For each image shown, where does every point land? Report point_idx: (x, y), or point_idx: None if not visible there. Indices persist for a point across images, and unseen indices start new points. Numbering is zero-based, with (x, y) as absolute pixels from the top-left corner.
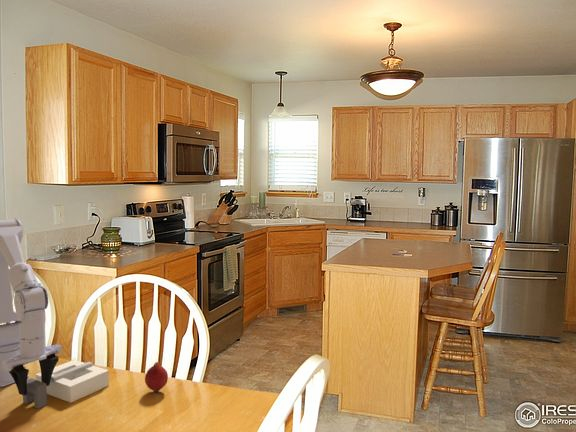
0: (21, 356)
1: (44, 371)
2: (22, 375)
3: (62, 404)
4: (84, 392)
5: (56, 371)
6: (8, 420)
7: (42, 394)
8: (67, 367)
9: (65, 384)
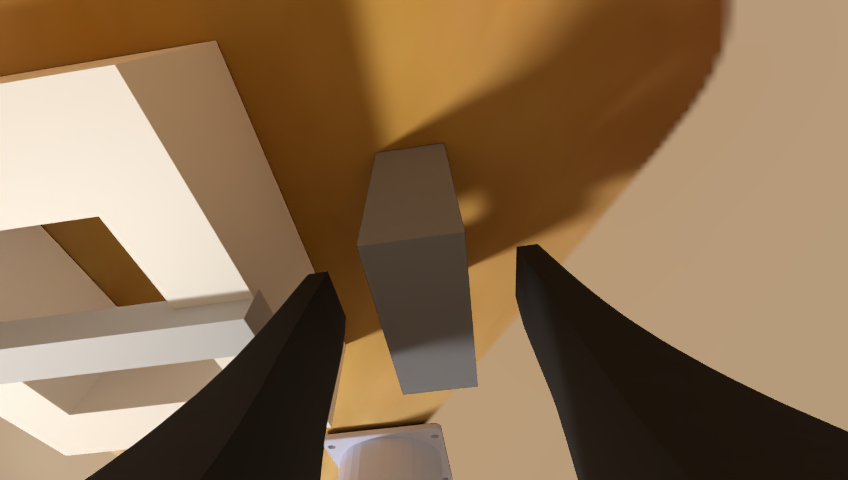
0: None
1: (305, 408)
2: (754, 411)
3: (284, 69)
4: (50, 69)
5: None
6: (650, 130)
7: (407, 189)
8: (118, 408)
9: (168, 167)
